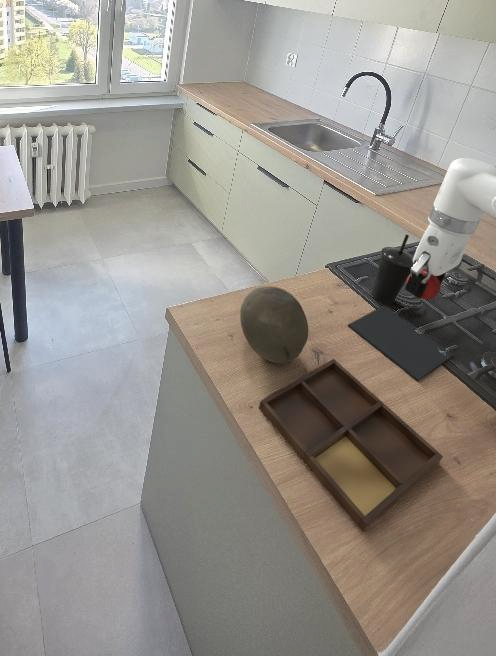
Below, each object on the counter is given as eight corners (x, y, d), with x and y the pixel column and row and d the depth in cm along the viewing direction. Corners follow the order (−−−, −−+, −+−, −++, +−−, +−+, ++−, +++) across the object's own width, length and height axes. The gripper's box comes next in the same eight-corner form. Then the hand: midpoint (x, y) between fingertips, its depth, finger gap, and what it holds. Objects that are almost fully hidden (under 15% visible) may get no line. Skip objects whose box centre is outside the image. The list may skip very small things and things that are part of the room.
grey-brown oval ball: (305, 342, 95) (321, 291, 89) (292, 389, 84) (309, 336, 78) (244, 314, 102) (255, 265, 96) (225, 355, 91) (235, 303, 85)
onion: (408, 284, 95) (420, 256, 92) (437, 300, 91) (451, 271, 87) (397, 295, 92) (409, 266, 88) (427, 311, 88) (441, 282, 84)
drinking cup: (394, 314, 104) (421, 249, 96) (361, 296, 109) (384, 234, 101) (403, 299, 109) (429, 236, 101) (371, 283, 114) (394, 222, 106)
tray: (438, 463, 73) (443, 456, 72) (362, 531, 64) (366, 524, 63) (331, 365, 90) (333, 358, 89) (258, 407, 81) (260, 400, 80)
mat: (453, 356, 93) (454, 354, 93) (417, 381, 87) (418, 379, 87) (382, 307, 106) (383, 305, 106) (347, 326, 100) (348, 324, 100)
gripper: (451, 240, 76) (417, 314, 83) (496, 218, 84) (462, 287, 91) (408, 219, 82) (380, 289, 89) (454, 200, 90) (425, 266, 97)
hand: (422, 288), depth 90 cm, fingers closed on onion, 6 cm apart
